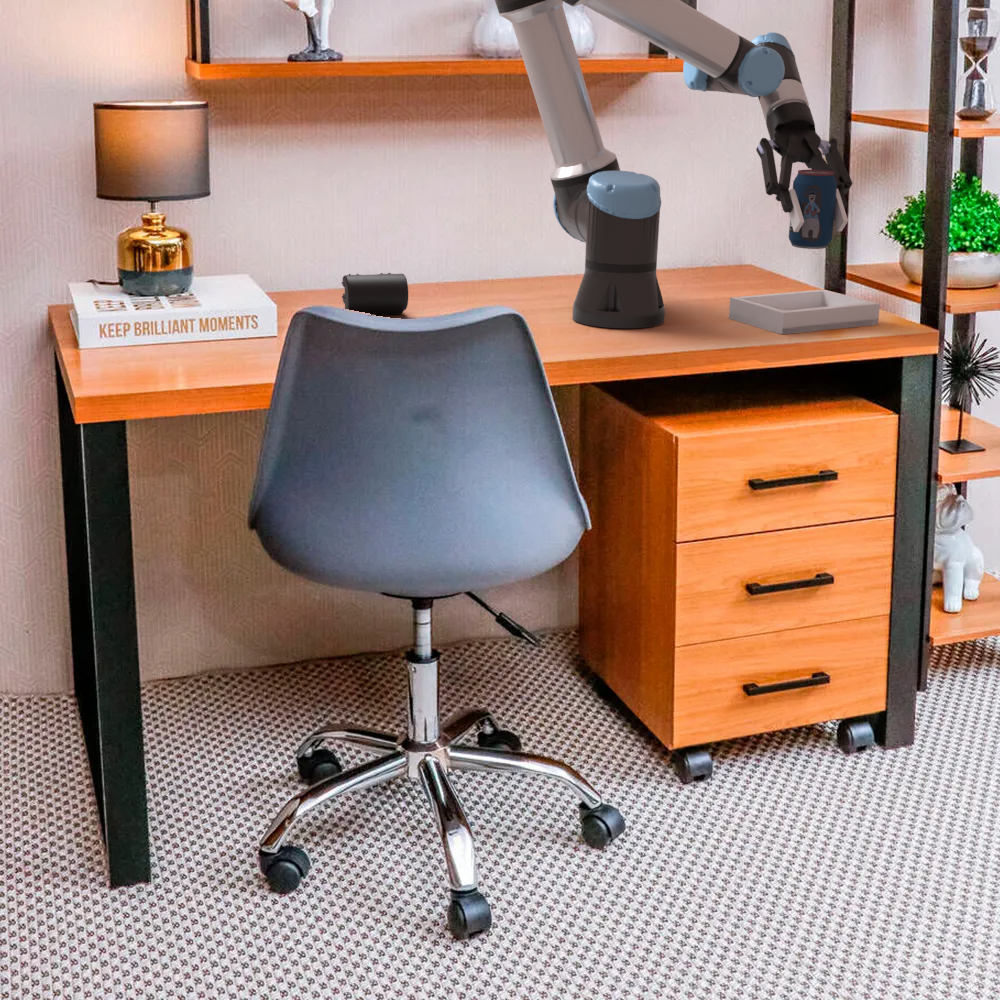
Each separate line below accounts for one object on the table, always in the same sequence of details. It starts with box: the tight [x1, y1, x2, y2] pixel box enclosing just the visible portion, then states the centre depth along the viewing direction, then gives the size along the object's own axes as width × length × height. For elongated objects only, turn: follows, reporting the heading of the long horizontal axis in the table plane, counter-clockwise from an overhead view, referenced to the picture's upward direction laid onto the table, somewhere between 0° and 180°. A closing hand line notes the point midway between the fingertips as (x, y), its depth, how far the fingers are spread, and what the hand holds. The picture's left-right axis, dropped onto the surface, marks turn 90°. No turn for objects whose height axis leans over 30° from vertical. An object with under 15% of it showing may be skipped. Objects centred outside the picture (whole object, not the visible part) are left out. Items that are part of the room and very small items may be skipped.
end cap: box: [341, 272, 409, 316], centre depth 236 cm, size 10×7×7 cm
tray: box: [728, 289, 881, 335], centre depth 237 cm, size 20×14×4 cm
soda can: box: [788, 169, 837, 250], centre depth 232 cm, size 7×7×12 cm
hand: (821, 226), depth 229 cm, fingers closed on soda can, 7 cm apart
